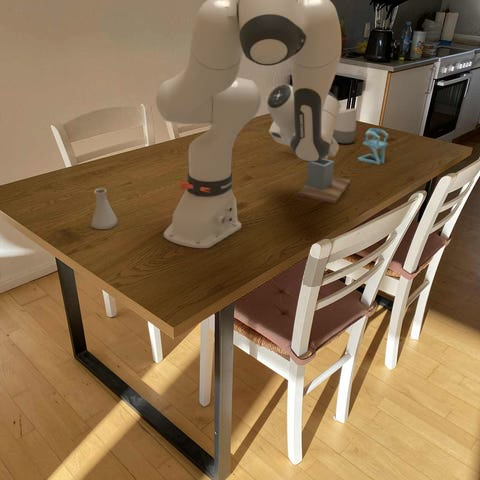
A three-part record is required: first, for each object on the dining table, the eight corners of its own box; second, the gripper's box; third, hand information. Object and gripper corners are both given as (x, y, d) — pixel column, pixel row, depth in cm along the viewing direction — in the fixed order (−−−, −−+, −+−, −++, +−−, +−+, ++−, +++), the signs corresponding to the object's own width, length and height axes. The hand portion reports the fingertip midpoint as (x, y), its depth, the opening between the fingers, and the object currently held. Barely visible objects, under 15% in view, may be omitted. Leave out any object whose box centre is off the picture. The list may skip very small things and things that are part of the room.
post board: (335, 203, 148) (338, 178, 144) (297, 196, 152) (299, 171, 148) (349, 183, 162) (353, 160, 158) (315, 177, 167) (317, 154, 163)
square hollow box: (322, 190, 154) (325, 166, 150) (306, 185, 157) (308, 161, 153) (331, 184, 158) (334, 161, 154) (315, 180, 161) (318, 157, 157)
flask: (111, 231, 130) (107, 197, 125) (86, 228, 131) (81, 194, 126) (122, 219, 136) (118, 186, 131) (98, 217, 137) (93, 184, 132)
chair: (375, 166, 177) (381, 134, 171) (357, 160, 183) (362, 128, 177) (387, 161, 182) (393, 130, 176) (369, 155, 187) (374, 125, 181)
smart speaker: (337, 137, 207) (341, 103, 200) (357, 141, 202) (362, 107, 196) (327, 142, 200) (331, 108, 194) (348, 146, 196) (352, 112, 189)
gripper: (335, 126, 132) (347, 151, 143) (273, 112, 142) (288, 137, 154) (325, 146, 131) (338, 170, 142) (263, 131, 141) (280, 154, 153)
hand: (312, 153), depth 148 cm, fingers open, 8 cm apart
